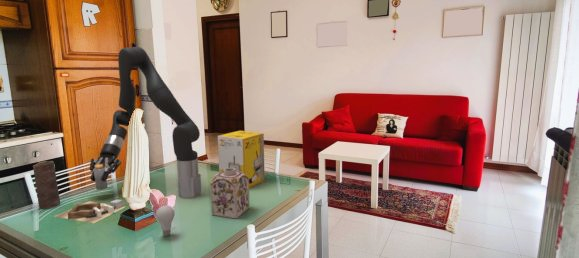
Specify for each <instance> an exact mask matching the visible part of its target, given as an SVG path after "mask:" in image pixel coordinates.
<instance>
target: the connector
mask: <svg viewBox="0 0 579 258" xmlns="http://www.w3.org/2000/svg"><path fill="white" fill-rule="evenodd" d="M104 172H105V167H103V164H97V165H95V168H94V177H95V181H94V185H95V190H97V191H101V190H105V189H108V182H107V181H108V180H106V181H105V182H103V181H102V180H101V178H102V175H103V173H104Z"/></svg>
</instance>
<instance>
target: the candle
mask: <svg viewBox="0 0 579 258" xmlns="http://www.w3.org/2000/svg"><path fill="white" fill-rule="evenodd" d="M32 168H33V174H34V181H35V182H34V183H35V188H36V189H35V190H36V193H37V194H36V195H37V200H38V201H37V202H38V206H39V207H38V208H39V209H42V210H46V209H52V208H56V207H58V206H60V205H61V200H60V193H59V187H58V181H57V180H58V179H57V175H56V167H55V161H53V160H45V161H39V162H37V163H36V164H34V165H32Z"/></svg>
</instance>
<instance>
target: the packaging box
mask: <svg viewBox="0 0 579 258" xmlns="http://www.w3.org/2000/svg"><path fill="white" fill-rule="evenodd" d="M264 138H265V134H264V132H263V133H262V132H253V131H247V130H237V131H232V132H227V133H224V134H220V135H217V148H218V149H217V151H218V153H217V155H218V157H217V158H218V173H219V172H222V171H224V169H226V168H235V169H236V171H241V172H243V173H244V174H246V176H247V177H248V178H249V189H250V188H252V187H254V186H257V185H258V184H260V183H263V182H265V181H266V180H265V139H264Z"/></svg>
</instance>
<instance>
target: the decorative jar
mask: <svg viewBox="0 0 579 258" xmlns="http://www.w3.org/2000/svg"><path fill="white" fill-rule="evenodd" d="M210 203H211V207H210V208H211V215H212V216H218V217H221V218H222V217H223V218H224V217H225V218H229V219H238V218H239V217H241V215H243V214H244V213H245V212H246V211H247V210H248V209H249V208H250V188H249V178H248V177H247V176H246V174H244V173H243V172H241V171H236V169H235V168H226V169H224V171H222V172H219V171H218V172H217V173H215V174H214V176H213V178H212V180H211V181H210Z"/></svg>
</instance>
